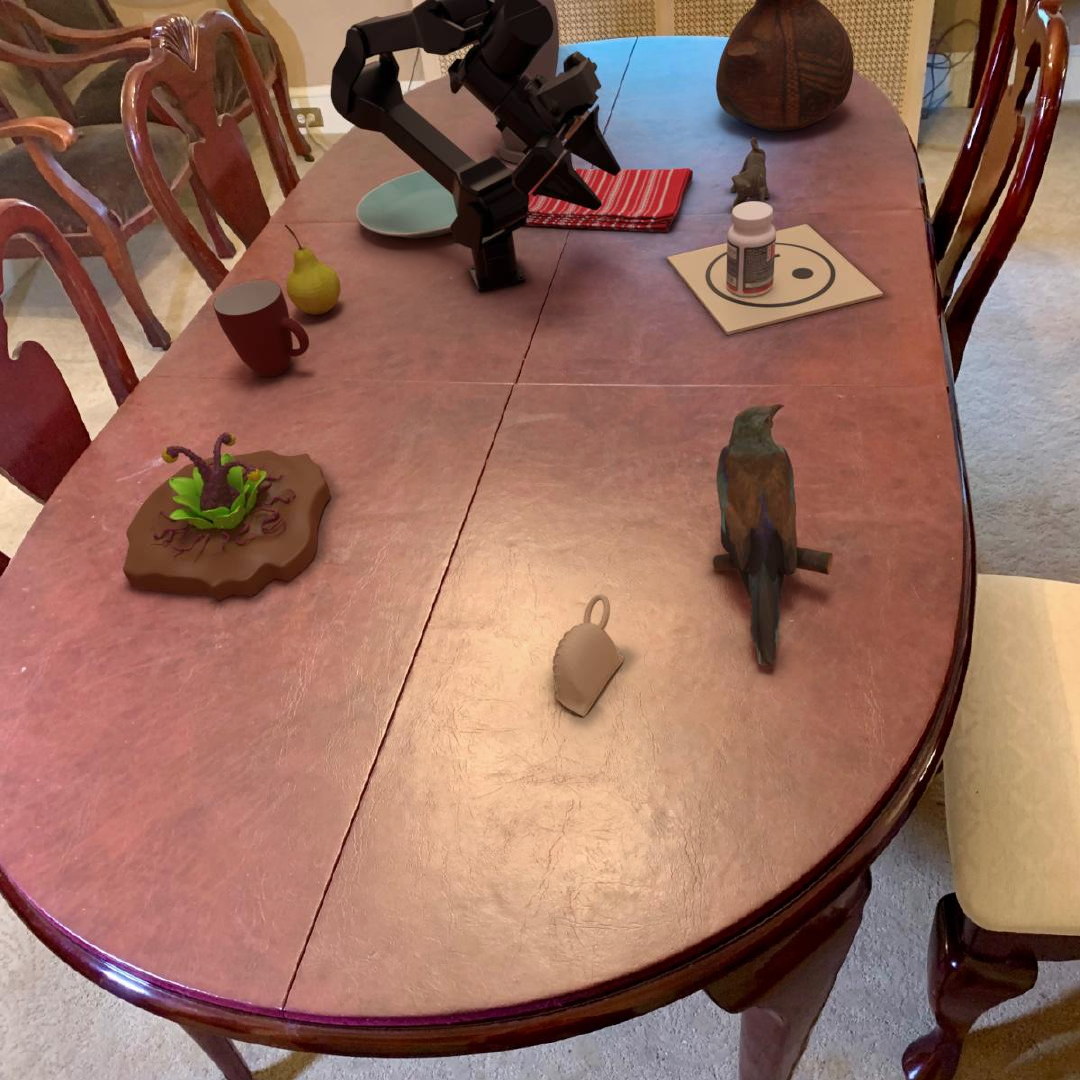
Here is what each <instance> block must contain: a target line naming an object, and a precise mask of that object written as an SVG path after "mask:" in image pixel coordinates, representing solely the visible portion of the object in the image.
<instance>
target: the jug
mask: <svg viewBox="0 0 1080 1080" xmlns="http://www.w3.org/2000/svg"><path fill="white" fill-rule="evenodd" d="M854 61H855V60H854V50H853V45H852V43H851V39H850V36H849V34H848V32H847V30H846V28H845V26H844V25H843V24H842V22H841V21H840V20H839V18H838V17H837V16H836V15H835V14H834V13H833V12H832V11H831V10H830V9H829V8H828V7H826V5H824V4H823V3H822V2H821V1H820V0H755V2H754V4H753V5H752V7H751V8H749V10H748V11H746V12H745V13H744V14H743V15H742V17H741V18H740V19H739V20H738V22H737V23H736V25H735V26H734V28H733V30H732V32H731V33H730V35H729V37H728V40H727V42H726V43H725V45H724V48H723V51H722V53H721V56H720V58H719V63H718V68H717V72H716V78H715V91H716V97H717V99H718V103H719V105H720V107H721V108H722V110H723V111H724V113H726V114H728V115H730V116H731V117H733V118H735V119H737V120H739V121H741V122H743V123H744V124H746V125H749V126H752V127H756V128H759V129H762V130H766V131H773V132H785V131H794V130H800V129H803V128H806V127H808V126H810V125H811V124H813V123H816V122H818V121H820V120H822V119H824V118H826V117H828V116H829V115H830V114H832V113H833V112H834V111H836V109H838V108H839V107H840V106H841V105H842V104H843V102H845V100H846V98H847V96H848V94H849V92H850V89H851V87H852V82H853V77H854V76H853V75H854V66H855V65H854V64H855V63H854Z"/></svg>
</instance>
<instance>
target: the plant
mask: <svg viewBox="0 0 1080 1080" xmlns="http://www.w3.org/2000/svg"><path fill="white" fill-rule="evenodd" d="M236 440H237V439H236V436H235V435H234V434H233V433H231V432H223V433H220V434H219V437H217V439H216V441H215V444H214V445H213V450H212V454H213V457H209V458H205V459H203V458H202V457H201V456H199V455H198V454H196V452H194V451H192V450H191V449H190V448H186V447H184V446H183V445H181V446H179V445H171V446H167V447H166V448H164V450H163V451H162V452H161V458H162V460H163V462H165V463H167V464H173V463H176V462H177V460H178V459H179V457H180V454H183V455H184V456H185V457H188V458H189V461H191V462H192V463H189V464H186V465H184V466H183V467H182V468H181V469H179V470H178V471H177V472H175V474H173V475H172V476H170V477H169V478H167V479H166V480H165V481H164V482H163V483H161V484H159V486H158V487H156V489H154V490H153V491H152V492H151V494H150V495H149V496H148V497H147V498H146V499H145V500H144V502H143V503H142V504H141V505H140V507H139V510H138V511H137V513H136V514H135V516H134V517H133V518H132V521H131V522H130V524H129V525H128V527H127V529H126V537H127V541H128V542H129V546H128V549H127V553H126V558H125V561H124V565H123V568H122V573H123V574H124V576H125V577H126V579H127V581H128V583H129V585H130V586H132V587H136V588H139V589H141V590H143V591H149V592H150V591H151V592H152V591H166V592H170V593H174V594H176V595H210V596H213V597H214V598H216V599H217V600H219V601H222V600H224V599H226V598H228V597H231V596H235V595H239V596H245V597H251V596H255V595H256V594H258V593H259V592H260V591H261V590H262V589H263V588H264V587H265V586H266V585H268V583H270V582H272V581H273V580H281V581H287V582H288V581H290V580H292V579H293V578H295V577H296V576H298V574H301V573H302V571H304V570H305V569H307V567H308V566H309V565H310V563H311V562H312V561H313V560H314V557H315V555H316V552H317V548H318V528H319V524H320V520H321V517H322V514H323V511H324V508H325V506H326V504H327V503H328V502H329V500H330V499H331V494H332V493H331V490H330V487H329V484H328V482H327V480H326V478H325V475H324V472H323V470H322V468H321V466H320V465H318V464H317V463H316V462H315V461H313V460H312V459H311V457H310V454H308V453H302V454H297V455H282V454H279V453H276V452H274V451H273V450H260V451H254V452H250V453H249V452H248V453H242V454H234V455H233V454H231V453H230V452H225V453H223V454H222V453H221V451H222V444H223V445H224V446H226V447H232V446H234V445H235V444H236Z"/></svg>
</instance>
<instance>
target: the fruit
mask: <svg viewBox="0 0 1080 1080" xmlns="http://www.w3.org/2000/svg"><path fill="white" fill-rule="evenodd" d="M284 227H285V228H286V229H287V230H288V232H289V233H290V234H291V235H292V236H293V238H294V239H295V241H296V243H297V246H298V248H296V249H295V251H294V253H293V262H294V264H293V267H292V268H291V270H290V271H289V273H288V276H287V278H286V284H285V285H286V293H287V296H288V298H289V300H290V301H291V303H292V304H293V305H294V306H295V307H296V308H297V309H298V310H299V311H302V312H303V313H306V314H309V315H312V316H319V315H324V314H326V313H327V312H329V311H330V310H331V309H332V308H333V307H334V306H335V305H336V304H337V302H338V300H339V298H340V295H341V290H342V289H341V282H340V278H339V276H338V273H337V272H336V270H335V269H334V268H332V267H330V266H329V265H328V264H326V263H325V262H322V261H320V260H318V259H317V257H316V255H315V253H314V252H313V250H311V249H310V248H308V247H306V246H302V245H301V243H300V241H299V239H298V237H297V235H296V234H295V232H294V231H293V230H292V229H291V228H290V227H289V225H288V224H287V223H285V224H284Z"/></svg>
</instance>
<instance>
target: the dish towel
mask: <svg viewBox="0 0 1080 1080" xmlns="http://www.w3.org/2000/svg"><path fill="white" fill-rule="evenodd" d="M574 170H575V171H576V172H577V173H578V174H579V175H580V176H581V178H582V179H583V180H584V181H585V182H586V184H587V185H588V186H589V187H590V188H591V189H592V191H593V192H594V193H595V194H596V196H597V197H598V198H599V200H600V201H601V202H602V205H601V207H600V208H599V209H598V210H597V211H595V210H591V209H588V208H585V207H582V206H579V205H575V204H572V203H569V202H565V201H562V200H558V199H554V198H550V197H546V196H541V195H536V196H533V195H532V192H533V191H534V189H535V188H536V186H537V184H536V186H535V187H534V188H533V189H532V190H531V191H530V192H529V193H528V194H529V206H528V212H527V219H526V225H525V226H526V227H527V226H528V227H548V228H549V227H556V228H572V229H573V228H577V229H591V230H592V229H594V230H615V231H618V230H619V231H631V232H652V233H653V232H658V233H667V232H669V229H670V226H671V224H672V222H673V220H674V219H675V217H676V215H677V214H678V212H679V209H680V206H681V204H682V201H683V199H684V197H685V194H686V193H687V190H688V187H689V185H690V184H691V182H692V181H693V176H694V171H693V170H692V169H691V168H689V167H684V168H671V169H666V168H665V169H664V168H662V169H661V168H653V169H642V168H641V169H640V168H638V169H637V168H635V169H632V168H631V169H629V168H621V170H620V172H619V173H618V174H617V175H616V176H613V175H611V174H609V173H607V172H605V171H603V170H601V169H600V168H598V169H597V168H588V169H587V168H574Z"/></svg>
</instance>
